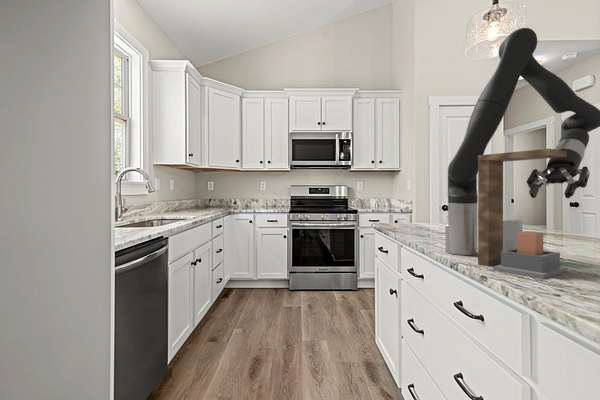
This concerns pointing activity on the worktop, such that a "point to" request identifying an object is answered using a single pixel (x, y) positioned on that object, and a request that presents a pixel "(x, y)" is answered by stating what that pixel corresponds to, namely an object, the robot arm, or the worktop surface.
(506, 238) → the skincare box
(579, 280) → the worktop surface
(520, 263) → the socket
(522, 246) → the peg
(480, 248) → the wooden l-shaped bracket
